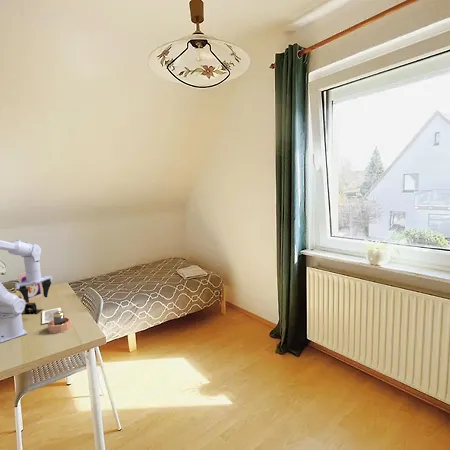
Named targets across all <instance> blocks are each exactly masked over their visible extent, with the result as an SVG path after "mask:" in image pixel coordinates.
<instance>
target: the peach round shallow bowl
mask: <svg viewBox="0 0 450 450" xmlns="http://www.w3.org/2000/svg"><path fill="white" fill-rule="evenodd" d="M64 319H65V323H64V324H61V325H54V319H53V320H51V321H50V322H48V323H47V330H48V332H49V333H50V334H57V333H59V334H60V333H63V332H67V331H68V330H70V329H71V328H72V326H73V325H72V318H71V317H69V316H64Z"/></svg>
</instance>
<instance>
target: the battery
mask: <svg viewBox="0 0 450 450" xmlns="http://www.w3.org/2000/svg"><path fill="white" fill-rule="evenodd" d="M53 317H54V325H61V324H64V323H65V319H64V317H65V311H63V310H61V311H57V312H55V313H54V314H53Z"/></svg>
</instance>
